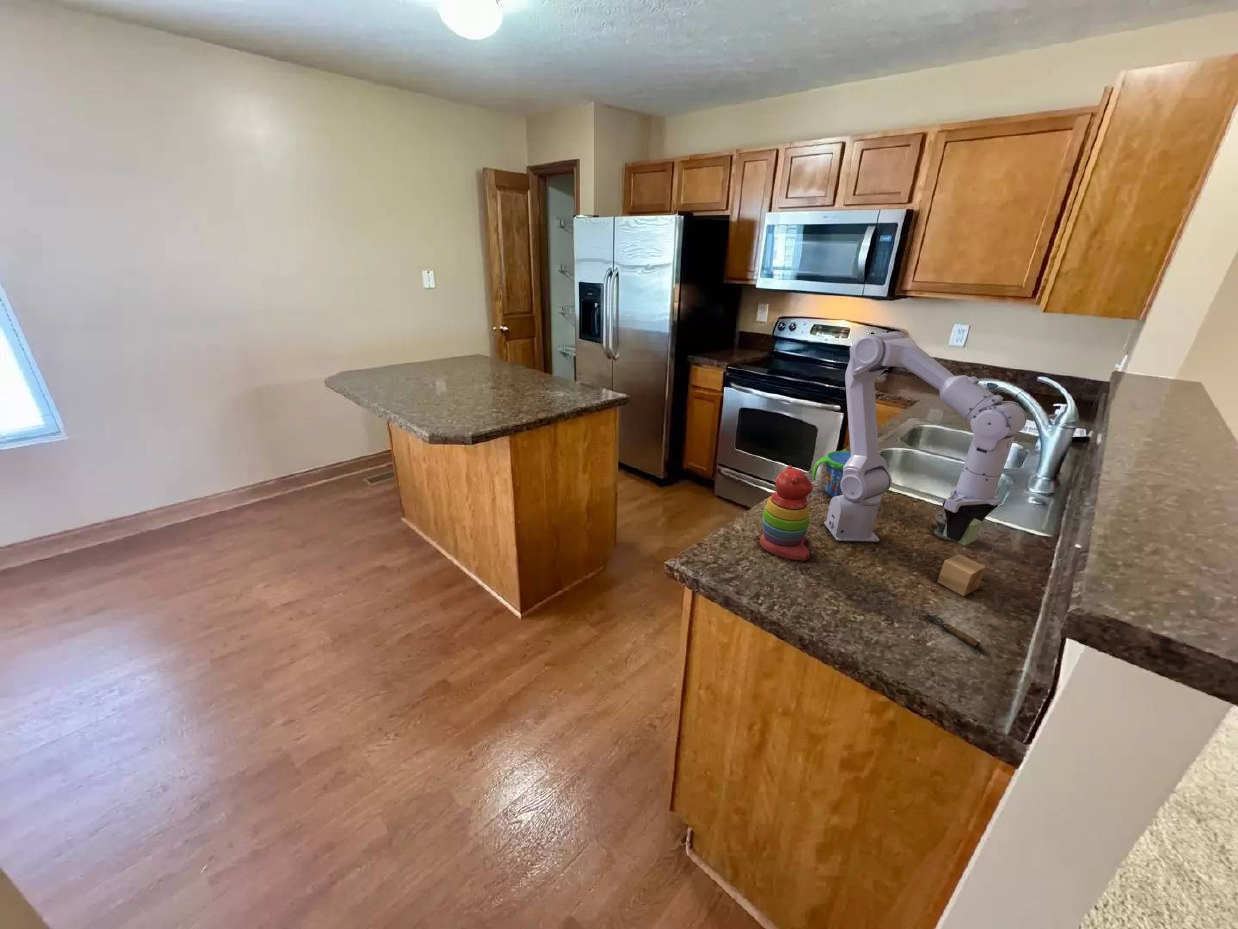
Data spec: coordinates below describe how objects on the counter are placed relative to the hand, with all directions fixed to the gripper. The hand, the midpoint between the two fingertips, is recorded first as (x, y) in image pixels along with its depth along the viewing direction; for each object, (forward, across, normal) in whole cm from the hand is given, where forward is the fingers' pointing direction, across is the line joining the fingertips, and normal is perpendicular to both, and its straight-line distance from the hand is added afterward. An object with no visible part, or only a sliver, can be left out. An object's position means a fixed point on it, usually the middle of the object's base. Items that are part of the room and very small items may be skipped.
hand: (959, 535), depth 96 cm
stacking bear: (+10, -19, +24) cm, 32 cm away
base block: (+10, 0, -2) cm, 10 cm away
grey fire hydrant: (+10, +18, +10) cm, 23 cm away
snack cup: (+10, +13, +35) cm, 39 cm away
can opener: (+10, -14, -9) cm, 19 cm away
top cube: (0, 0, 0) cm, 0 cm away
